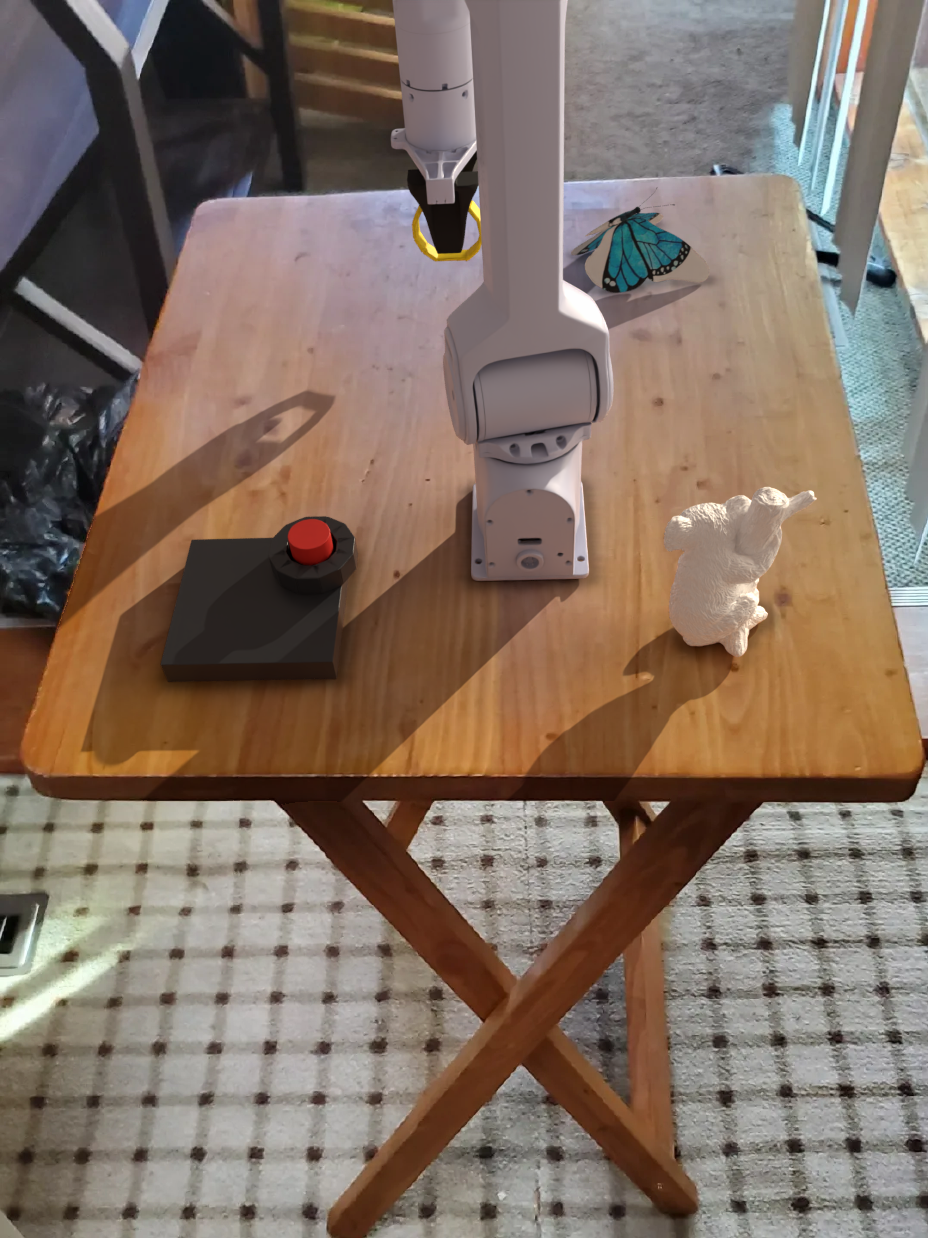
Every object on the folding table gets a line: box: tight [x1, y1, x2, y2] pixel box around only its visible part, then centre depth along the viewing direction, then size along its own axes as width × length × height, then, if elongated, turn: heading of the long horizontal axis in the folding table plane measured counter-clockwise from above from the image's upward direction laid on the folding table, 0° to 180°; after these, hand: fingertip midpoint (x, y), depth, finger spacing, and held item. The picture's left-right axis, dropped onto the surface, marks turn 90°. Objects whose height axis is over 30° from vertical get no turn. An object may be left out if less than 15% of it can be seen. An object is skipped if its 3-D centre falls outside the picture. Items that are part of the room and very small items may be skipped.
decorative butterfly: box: [570, 187, 711, 294], centre depth 96 cm, size 10×6×10 cm
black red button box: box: [160, 515, 359, 683], centre depth 71 cm, size 11×12×4 cm
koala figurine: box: [663, 486, 817, 658], centre depth 65 cm, size 8×7×12 cm
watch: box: [411, 199, 482, 263], centre depth 90 cm, size 6×3×6 cm, turn 81°
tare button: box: [288, 519, 333, 565], centre depth 71 cm, size 3×3×2 cm
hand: (449, 240), depth 91 cm, fingers closed on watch, 2 cm apart
